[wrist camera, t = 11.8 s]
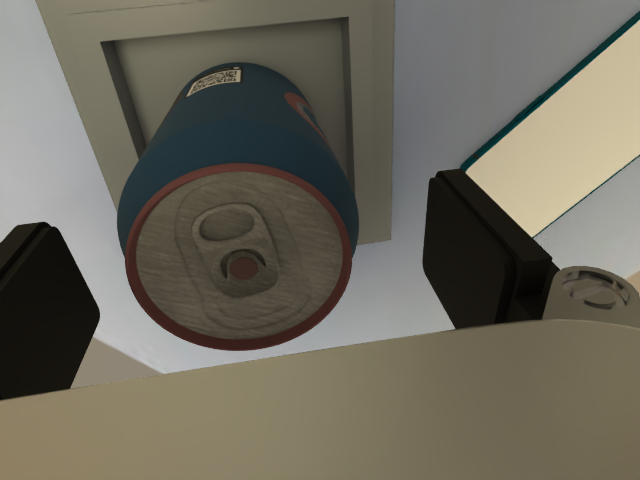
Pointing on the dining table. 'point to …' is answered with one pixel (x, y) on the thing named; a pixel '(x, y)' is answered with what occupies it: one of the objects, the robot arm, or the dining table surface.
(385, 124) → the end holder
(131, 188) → the soda can
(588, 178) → the smartphone
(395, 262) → the dining table surface
